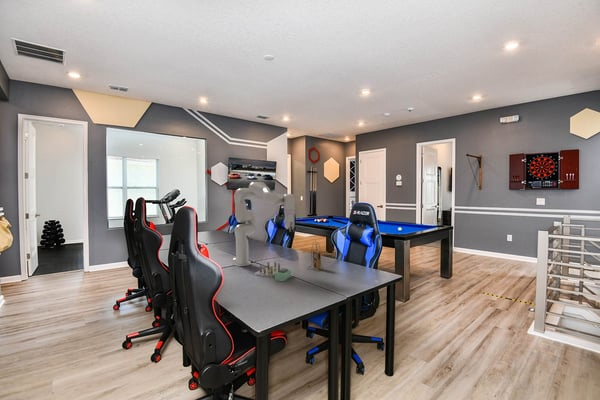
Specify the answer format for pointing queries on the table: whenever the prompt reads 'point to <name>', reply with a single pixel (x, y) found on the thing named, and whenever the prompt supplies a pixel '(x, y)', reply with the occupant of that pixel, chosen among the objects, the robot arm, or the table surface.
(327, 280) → the table surface
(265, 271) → the chassis
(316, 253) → the multimeter
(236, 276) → the table surface
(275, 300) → the table surface
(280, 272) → the module
